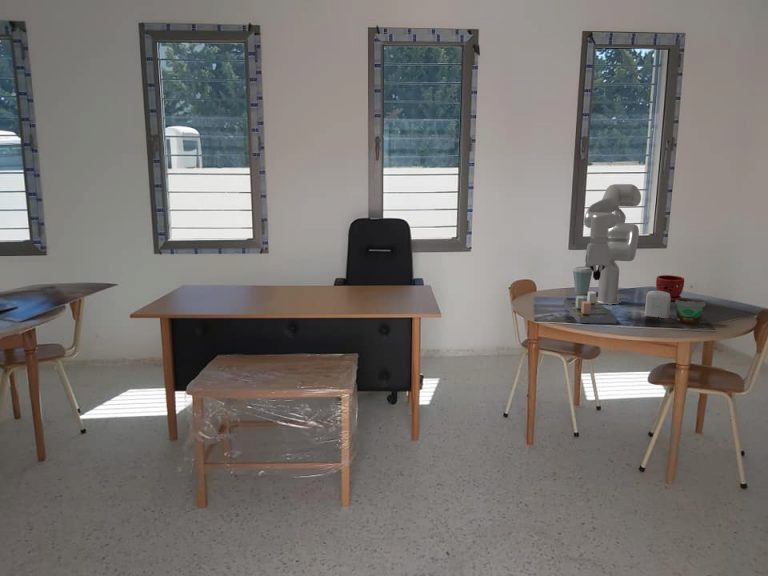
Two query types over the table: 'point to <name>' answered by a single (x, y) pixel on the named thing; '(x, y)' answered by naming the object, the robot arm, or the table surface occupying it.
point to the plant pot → (670, 285)
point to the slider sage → (579, 301)
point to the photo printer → (658, 304)
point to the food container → (689, 311)
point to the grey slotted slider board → (591, 313)
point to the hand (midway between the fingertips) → (596, 279)
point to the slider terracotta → (585, 307)
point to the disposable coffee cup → (582, 279)
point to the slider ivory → (591, 297)
